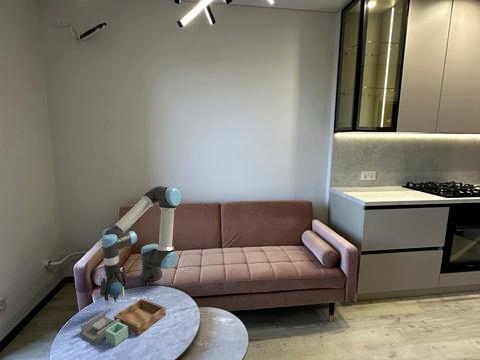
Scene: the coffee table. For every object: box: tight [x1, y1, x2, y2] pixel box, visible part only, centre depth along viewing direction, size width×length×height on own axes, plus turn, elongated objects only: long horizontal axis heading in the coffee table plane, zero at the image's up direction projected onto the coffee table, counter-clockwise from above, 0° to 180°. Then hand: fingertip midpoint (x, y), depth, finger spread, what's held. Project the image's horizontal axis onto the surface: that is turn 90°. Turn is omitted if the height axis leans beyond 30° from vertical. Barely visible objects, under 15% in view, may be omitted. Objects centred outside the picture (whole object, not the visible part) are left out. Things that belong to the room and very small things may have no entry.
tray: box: [113, 298, 167, 336], centre depth 147 cm, size 18×18×4 cm
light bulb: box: [109, 280, 123, 303], centre depth 153 cm, size 8×8×12 cm
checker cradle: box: [79, 311, 120, 346], centre depth 138 cm, size 14×14×5 cm
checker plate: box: [92, 318, 110, 331], centre depth 138 cm, size 6×6×1 cm
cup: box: [105, 322, 129, 348], centre depth 133 cm, size 7×7×6 cm
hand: (115, 300), depth 154 cm, fingers closed on light bulb, 8 cm apart
